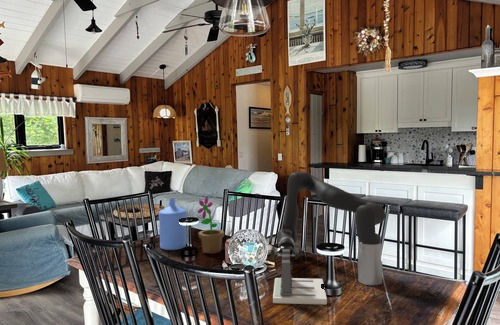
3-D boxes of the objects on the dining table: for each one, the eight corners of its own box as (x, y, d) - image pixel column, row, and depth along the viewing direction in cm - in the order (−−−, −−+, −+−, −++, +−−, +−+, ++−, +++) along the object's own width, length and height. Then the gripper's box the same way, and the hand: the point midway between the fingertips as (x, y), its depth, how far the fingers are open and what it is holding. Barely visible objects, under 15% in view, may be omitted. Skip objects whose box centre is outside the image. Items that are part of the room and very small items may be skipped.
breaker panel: (322, 283, 159) (322, 278, 159) (326, 304, 139) (326, 298, 139) (275, 282, 161) (275, 277, 161) (272, 303, 142) (272, 297, 141)
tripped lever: (291, 277, 159) (291, 248, 159) (291, 281, 156) (291, 251, 155) (281, 277, 160) (280, 248, 159) (281, 281, 156) (280, 251, 155)
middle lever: (291, 284, 153) (291, 254, 152) (291, 288, 149) (291, 257, 148) (281, 284, 153) (280, 253, 152) (280, 287, 149) (280, 257, 148)
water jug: (184, 250, 211) (182, 200, 209) (156, 250, 211) (154, 201, 209) (189, 242, 226) (187, 196, 224) (163, 242, 227) (161, 196, 225)
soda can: (237, 266, 182) (237, 242, 182) (223, 265, 184) (223, 241, 183) (241, 261, 189) (240, 238, 189) (227, 261, 191) (227, 237, 190)
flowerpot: (210, 245, 219) (209, 194, 217) (229, 249, 211) (228, 196, 209) (193, 251, 208) (191, 198, 205) (213, 256, 199) (211, 200, 197)
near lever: (292, 291, 146) (291, 259, 145) (292, 295, 142) (291, 263, 141) (280, 291, 146) (280, 259, 145) (280, 295, 142) (279, 263, 141)
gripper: (271, 238, 182) (270, 248, 166) (301, 238, 181) (302, 248, 165) (272, 253, 183) (270, 264, 167) (301, 253, 181) (302, 265, 165)
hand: (286, 256), depth 166 cm, fingers open, 8 cm apart
